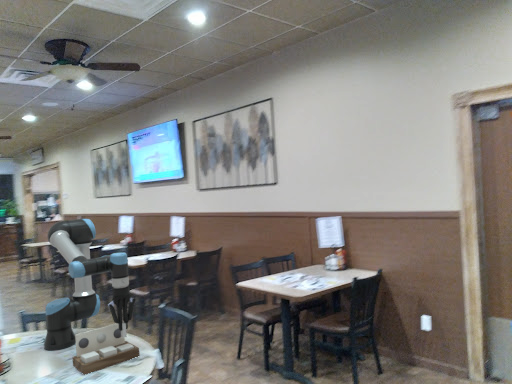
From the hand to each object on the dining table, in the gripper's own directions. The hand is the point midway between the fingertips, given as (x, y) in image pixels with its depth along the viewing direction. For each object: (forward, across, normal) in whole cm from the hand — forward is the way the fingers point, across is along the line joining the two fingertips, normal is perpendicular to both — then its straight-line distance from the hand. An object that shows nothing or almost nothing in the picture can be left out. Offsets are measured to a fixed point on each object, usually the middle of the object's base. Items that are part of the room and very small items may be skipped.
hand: (123, 336), depth 191 cm
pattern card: (+6, -8, +7) cm, 12 cm away
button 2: (+7, 0, -1) cm, 7 cm away
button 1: (+6, -16, -1) cm, 17 cm away
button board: (+9, -8, +2) cm, 12 cm away
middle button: (+6, -8, -1) cm, 10 cm away
